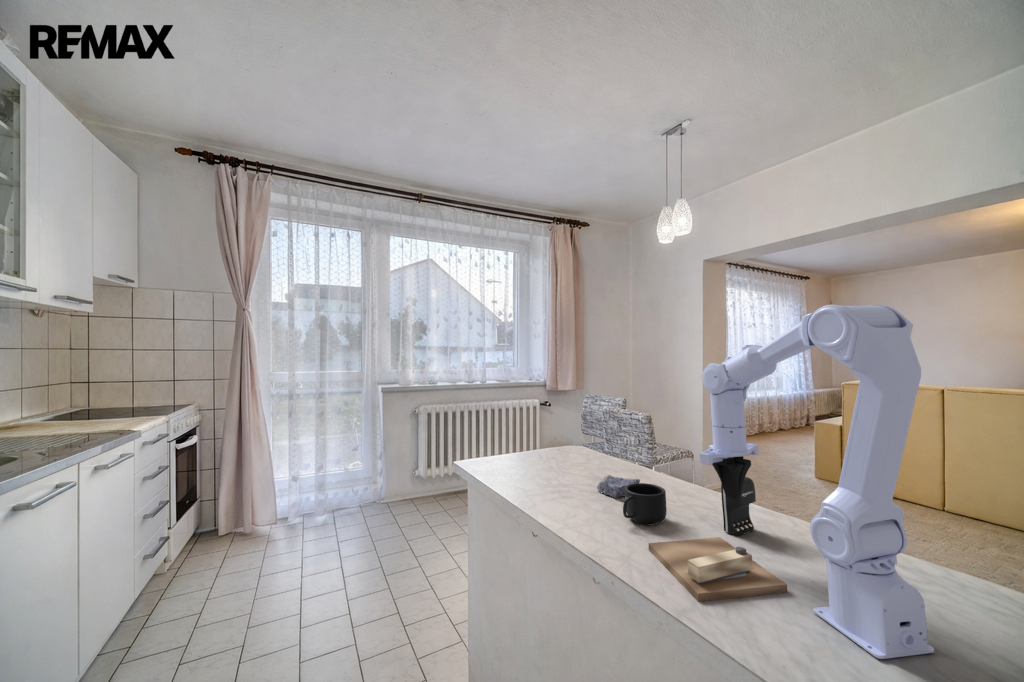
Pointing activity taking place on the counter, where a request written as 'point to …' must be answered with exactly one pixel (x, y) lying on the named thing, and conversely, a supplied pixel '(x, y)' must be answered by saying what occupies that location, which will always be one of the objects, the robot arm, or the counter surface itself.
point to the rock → (615, 485)
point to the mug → (645, 503)
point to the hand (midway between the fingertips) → (732, 497)
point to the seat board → (725, 587)
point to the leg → (720, 564)
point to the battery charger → (738, 509)
